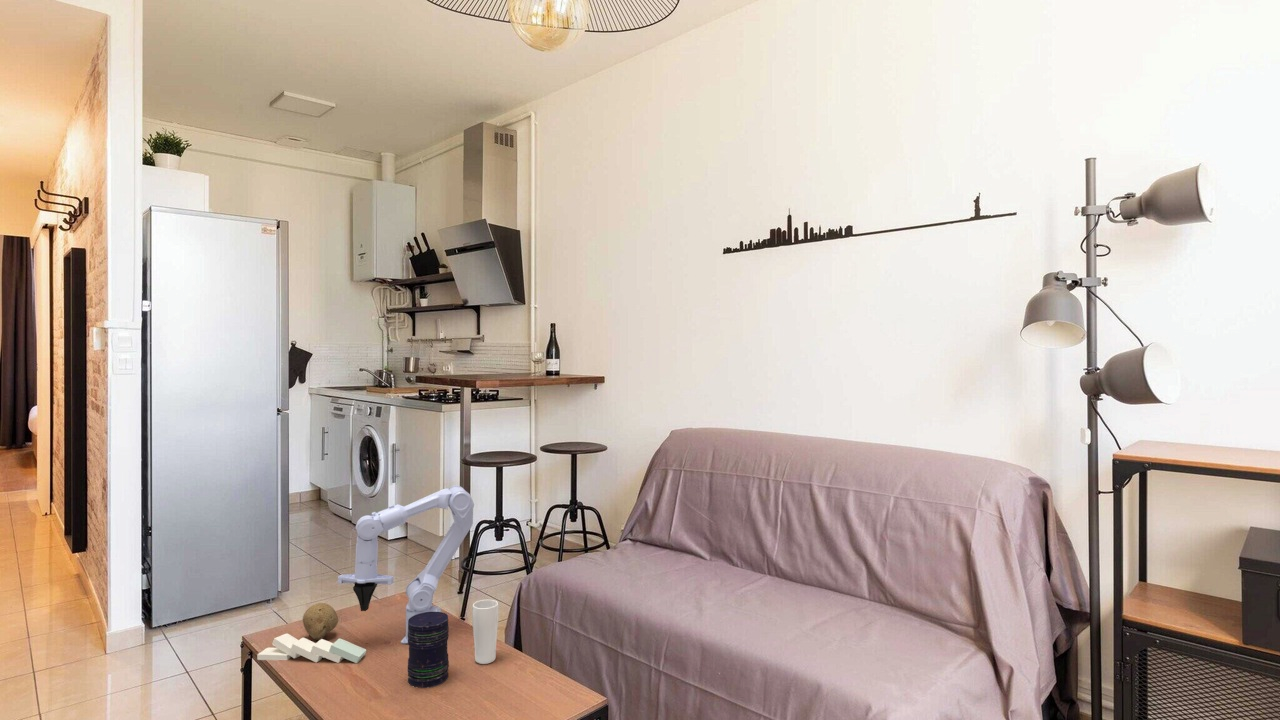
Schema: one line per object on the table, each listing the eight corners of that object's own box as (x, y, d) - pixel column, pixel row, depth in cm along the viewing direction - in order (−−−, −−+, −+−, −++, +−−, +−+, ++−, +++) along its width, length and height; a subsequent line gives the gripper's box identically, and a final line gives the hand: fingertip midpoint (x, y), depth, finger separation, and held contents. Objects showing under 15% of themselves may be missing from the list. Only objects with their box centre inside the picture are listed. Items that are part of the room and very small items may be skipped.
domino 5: (366, 649, 181) (339, 638, 181) (359, 657, 176) (331, 645, 177) (364, 655, 181) (337, 644, 181) (356, 663, 176) (328, 651, 177)
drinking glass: (485, 668, 173) (485, 610, 173) (466, 662, 177) (466, 605, 177) (503, 658, 179) (503, 602, 179) (485, 652, 183) (485, 597, 183)
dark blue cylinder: (406, 673, 171) (406, 614, 171) (446, 666, 175) (446, 609, 174) (409, 691, 162) (409, 629, 161) (451, 683, 165) (451, 623, 165)
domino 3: (328, 649, 181) (303, 637, 182) (318, 656, 176) (292, 643, 177) (326, 655, 181) (300, 643, 182) (316, 662, 177) (290, 650, 178)
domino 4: (348, 649, 181) (321, 638, 181) (340, 656, 176) (312, 645, 177) (346, 655, 181) (319, 644, 181) (338, 663, 176) (310, 652, 177)
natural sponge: (330, 629, 198) (330, 595, 198) (343, 638, 192) (343, 603, 192) (298, 638, 192) (298, 603, 192) (309, 648, 185) (309, 611, 185)
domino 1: (296, 648, 182) (267, 647, 183) (286, 655, 178) (257, 654, 178) (296, 654, 182) (267, 654, 183) (286, 662, 178) (257, 661, 178)
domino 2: (309, 646, 182) (287, 633, 184) (296, 652, 178) (274, 638, 180) (306, 652, 182) (284, 639, 184) (294, 658, 178) (272, 644, 180)
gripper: (333, 564, 182) (331, 614, 182) (388, 565, 182) (386, 615, 182) (344, 556, 189) (342, 605, 189) (396, 557, 189) (394, 606, 189)
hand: (364, 609), depth 186 cm, fingers closed
